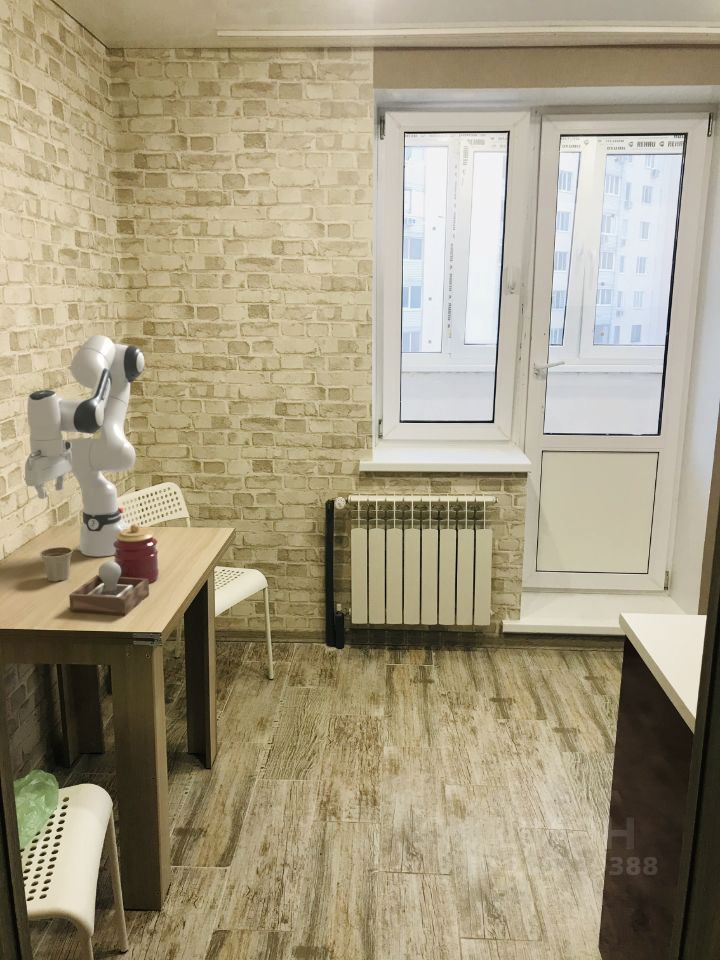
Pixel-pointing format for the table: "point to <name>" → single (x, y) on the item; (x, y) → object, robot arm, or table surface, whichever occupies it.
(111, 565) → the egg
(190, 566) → the table surface
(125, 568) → the canister
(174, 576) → the table surface
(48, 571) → the flower pot
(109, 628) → the table surface
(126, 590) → the socket box
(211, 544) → the table surface
